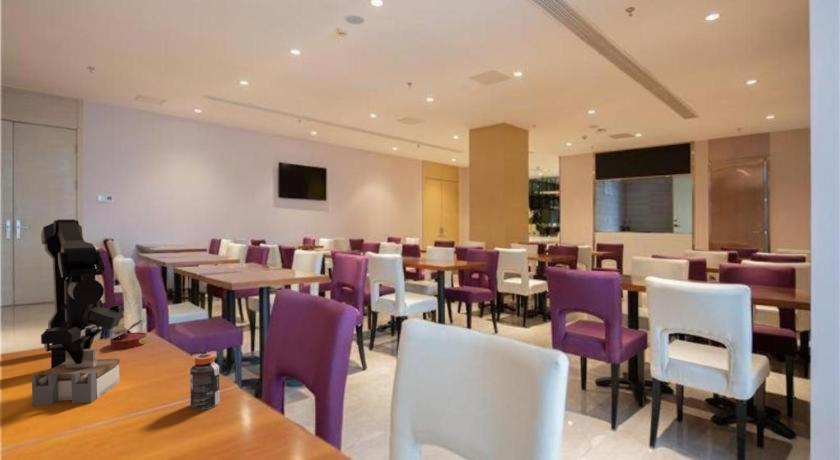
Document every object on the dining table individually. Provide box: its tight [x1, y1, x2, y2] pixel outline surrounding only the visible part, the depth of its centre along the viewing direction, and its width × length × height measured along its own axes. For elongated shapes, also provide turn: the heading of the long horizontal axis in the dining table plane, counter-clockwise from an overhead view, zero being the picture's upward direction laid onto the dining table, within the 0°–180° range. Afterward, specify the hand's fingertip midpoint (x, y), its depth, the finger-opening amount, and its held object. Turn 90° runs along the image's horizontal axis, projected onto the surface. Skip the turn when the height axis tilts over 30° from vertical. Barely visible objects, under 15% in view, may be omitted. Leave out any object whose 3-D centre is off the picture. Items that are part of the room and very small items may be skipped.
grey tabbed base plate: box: [39, 348, 120, 384], centre depth 105 cm, size 12×12×5 cm
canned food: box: [109, 319, 147, 351], centre depth 145 cm, size 11×10×10 cm
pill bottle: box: [189, 353, 220, 411], centre depth 100 cm, size 6×6×11 cm
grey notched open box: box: [31, 364, 120, 407], centre depth 105 cm, size 12×12×7 cm
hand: (81, 362), depth 106 cm, fingers closed on grey tabbed base plate
